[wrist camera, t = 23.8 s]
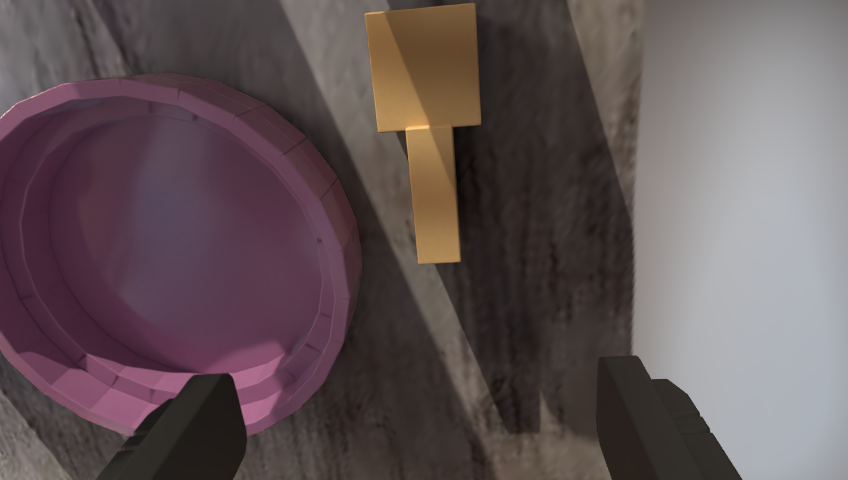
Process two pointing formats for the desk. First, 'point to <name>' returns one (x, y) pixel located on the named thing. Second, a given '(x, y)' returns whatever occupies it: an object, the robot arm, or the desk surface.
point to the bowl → (169, 248)
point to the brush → (428, 108)
